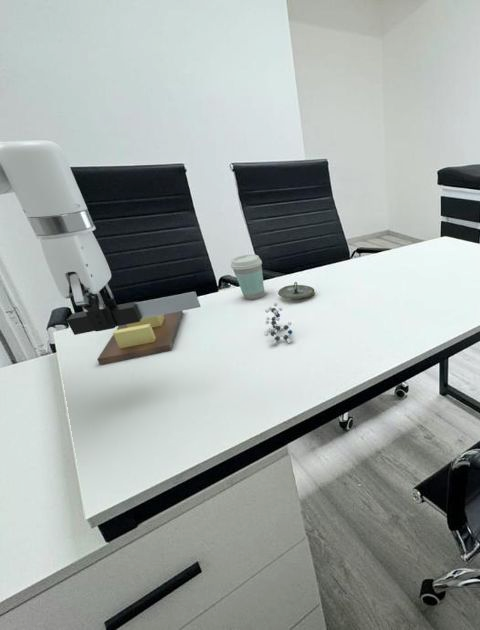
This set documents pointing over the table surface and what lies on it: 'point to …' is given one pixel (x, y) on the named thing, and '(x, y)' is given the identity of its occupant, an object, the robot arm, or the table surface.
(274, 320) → the molecule model
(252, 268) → the coffee cup
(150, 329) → the butter slice
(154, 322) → the butter block
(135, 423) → the table surface
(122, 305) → the knife
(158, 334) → the board
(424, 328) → the table surface
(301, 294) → the lid
